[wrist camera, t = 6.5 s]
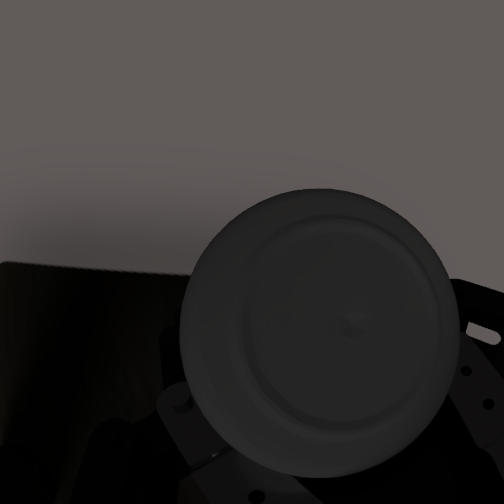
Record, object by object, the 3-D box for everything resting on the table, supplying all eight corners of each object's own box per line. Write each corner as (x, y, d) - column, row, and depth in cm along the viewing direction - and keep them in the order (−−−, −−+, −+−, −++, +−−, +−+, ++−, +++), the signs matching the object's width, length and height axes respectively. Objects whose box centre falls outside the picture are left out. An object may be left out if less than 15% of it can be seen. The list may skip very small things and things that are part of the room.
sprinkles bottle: (203, 349, 16) (114, 264, 4) (269, 309, 17) (359, 144, 5) (246, 414, 14) (301, 539, 2) (311, 371, 16) (501, 340, 3)
